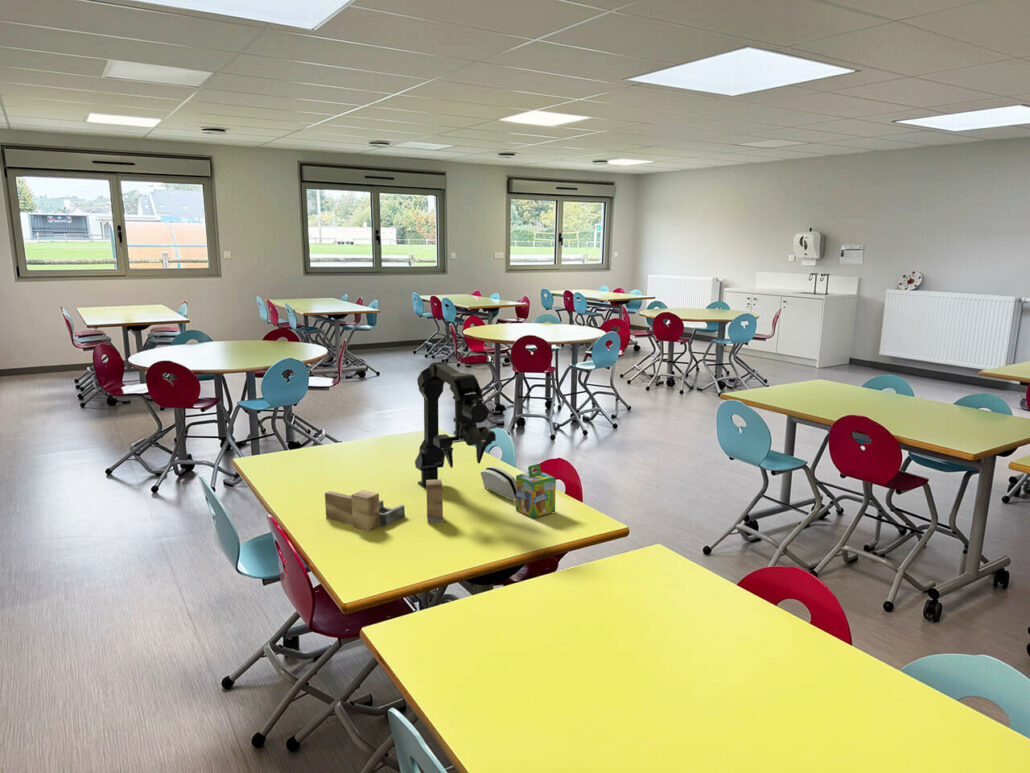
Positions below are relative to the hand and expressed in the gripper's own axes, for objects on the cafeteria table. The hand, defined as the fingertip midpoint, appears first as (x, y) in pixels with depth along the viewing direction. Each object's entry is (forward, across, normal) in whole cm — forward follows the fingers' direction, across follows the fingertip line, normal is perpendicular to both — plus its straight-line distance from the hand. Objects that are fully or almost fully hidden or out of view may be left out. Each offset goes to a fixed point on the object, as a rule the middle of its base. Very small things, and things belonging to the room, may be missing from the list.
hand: (465, 465), depth 215 cm
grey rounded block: (+15, +17, +8) cm, 24 cm away
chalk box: (+15, +18, -12) cm, 26 cm away
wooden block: (+15, -12, -3) cm, 19 cm away
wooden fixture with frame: (+15, -30, +9) cm, 34 cm away
